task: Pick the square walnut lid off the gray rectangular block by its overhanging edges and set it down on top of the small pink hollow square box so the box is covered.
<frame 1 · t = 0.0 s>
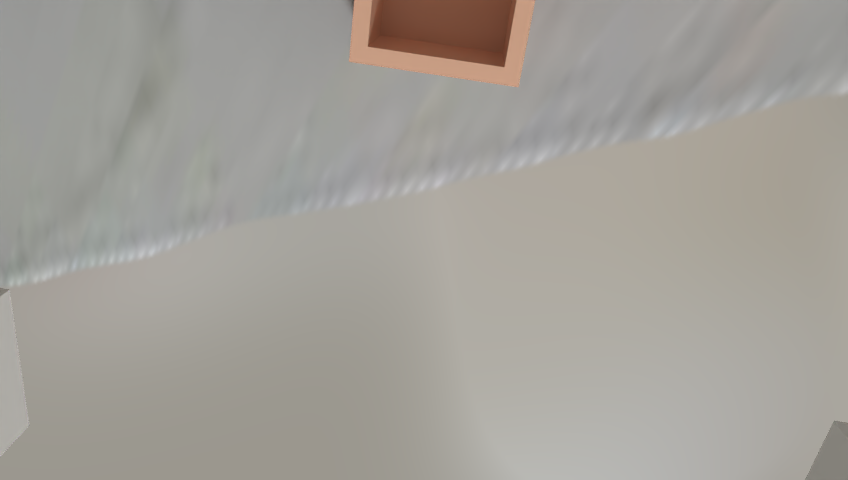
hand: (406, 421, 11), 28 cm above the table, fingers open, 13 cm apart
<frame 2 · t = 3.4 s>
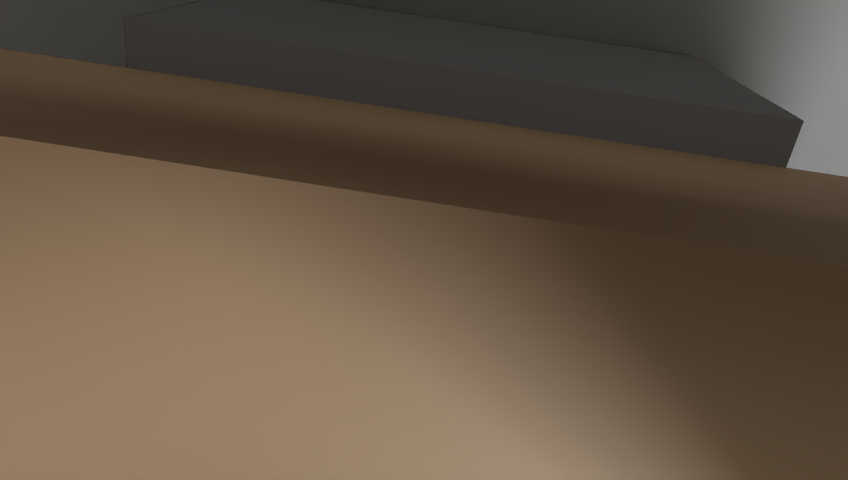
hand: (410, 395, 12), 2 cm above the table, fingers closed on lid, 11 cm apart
gray rectangular block: (419, 343, 13), on the table
when the fingers open (4 cm above the table, at t = 8.6 s): lid drops 1 cm, resting on pink hollow square box.
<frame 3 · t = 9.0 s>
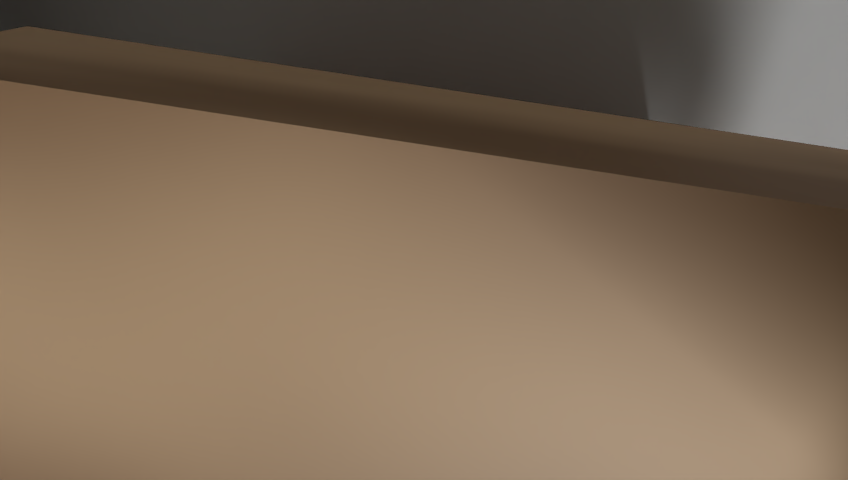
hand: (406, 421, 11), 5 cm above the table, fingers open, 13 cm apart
lid: (404, 433, 11), point 5 cm above the table, touching pink hollow square box
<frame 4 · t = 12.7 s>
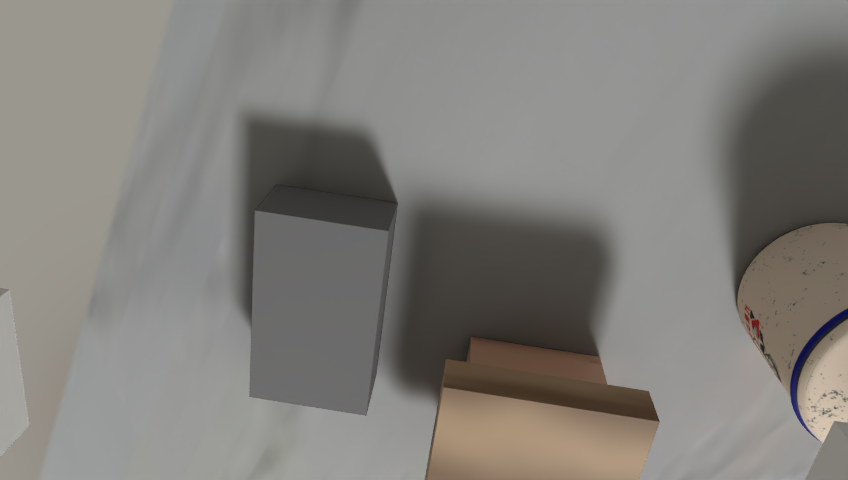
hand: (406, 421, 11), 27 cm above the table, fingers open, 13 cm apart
gray rectangular block: (329, 285, 41), on the table
lid: (527, 453, 38), point 5 cm above the table, touching pink hollow square box
pink hollow square box: (522, 398, 43), on the table
teacup with lid: (830, 301, 39), on the table
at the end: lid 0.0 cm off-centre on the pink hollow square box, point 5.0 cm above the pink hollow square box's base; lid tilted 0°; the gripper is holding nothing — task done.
